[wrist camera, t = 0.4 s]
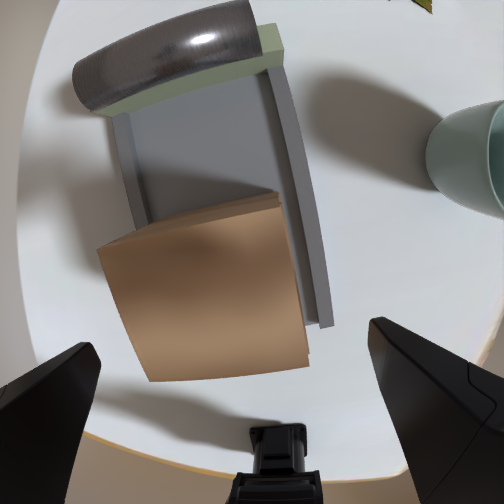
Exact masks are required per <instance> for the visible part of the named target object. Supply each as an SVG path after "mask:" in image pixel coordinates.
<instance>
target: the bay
mask: <svg viewBox="0 0 504 504" xmlns="http://www.w3.org/2000/svg"><path fill="white" fill-rule="evenodd" d="M283 59H284V47H283V44H282V41H281V38H280V34H279V31H278V28H277V25H276V23H272V24H266V25H261V26H256V22H255V19H254V15H253V12H252V9H251V6H250V3H249V1H248V0H234V1H229V2H225V3H221V4H217V5H213V6H209V7H206V8H202V9H199V10H195V11H192V12H189V13H186V14H183V15H180V16H177V17H174V18H171V19H168V20H165V21H163V22H160V23H157V24H155V25H152V26H150V27H147V28H145V29H142V30H140V31H138V32H135V33H133V34H131V35H129V36H126V37H124V38H122V39H120V40H118V41H116V42H114V43H112V44H110V45H108V46H106V47H104V48H102V49H100V50H98V51H96V52H94V53H92V54H91V55H89V56H87V57H85V58H83V59H82V60H80V61H78V62H77V63H76V64H75V66H74V68H73V73H72V80H73V86H74V89H75V92H76V94H77V96H78V98H79V100H80V101H81V102H82V104H83V105H84V106H85V107H86V108H88V109H89V110H90V112H93V113H97V114H101V115H105V116H109V117H112V123H113V129H114V135H115V140H116V145H117V151H118V156H119V160H120V165H121V170H122V174H123V179H124V183H125V188H126V192H127V196H128V200H129V204H130V208H131V212H132V216H133V220H134V223H135V227H136V230H138V229H140V228H143V227H145V226H147V225H149V224H151V223H153V222H155V221H158V220H160V219H162V218H164V217H167V216H171V215H175V214H179V213H183V212H187V211H191V210H195V209H199V208H204V207H208V206H212V205H216V204H221V203H225V202H229V201H234V200H238V199H243V198H247V197H252V196H257V195H261V194H266V193H271V192H276V191H278V193H280V197H281V201H282V206H283V211H284V216H285V220H286V225H287V230H288V235H289V240H290V245H291V251H292V256H293V261H294V266H295V272H296V277H297V282H298V288H299V293H300V299H301V305H302V311H303V317H304V323H305V326H306V325H311V324H316V323H319V326H320V329H322V328H327V327H331V326H334V318H333V310H332V302H331V295H330V287H329V280H328V273H327V266H326V260H325V254H324V247H323V241H322V235H321V230H320V224H319V218H318V213H317V207H316V202H315V197H314V192H313V187H312V182H311V177H310V172H309V167H308V163H307V158H306V154H305V149H304V145H303V140H302V136H301V132H300V128H299V124H298V119H297V115H296V111H295V107H294V104H293V100H292V96H291V92H290V88H289V85H288V81H287V77H286V74H285V70H284V67H283Z"/></svg>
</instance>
